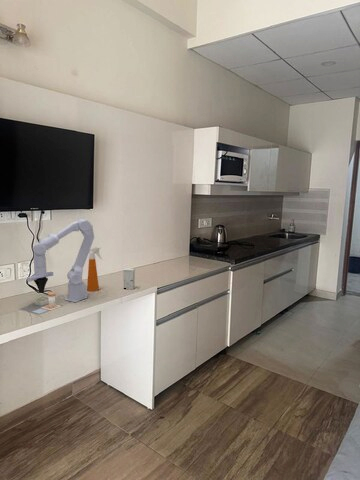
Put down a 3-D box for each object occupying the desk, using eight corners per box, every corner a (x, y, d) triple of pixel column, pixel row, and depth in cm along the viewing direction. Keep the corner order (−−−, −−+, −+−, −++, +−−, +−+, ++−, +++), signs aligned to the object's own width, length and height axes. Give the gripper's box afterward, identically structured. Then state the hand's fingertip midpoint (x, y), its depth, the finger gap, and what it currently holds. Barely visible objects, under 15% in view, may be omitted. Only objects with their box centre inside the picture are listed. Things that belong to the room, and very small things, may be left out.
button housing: (42, 301, 183) (42, 298, 182) (48, 303, 180) (48, 299, 180) (35, 304, 179) (35, 300, 178) (41, 305, 176) (41, 302, 176)
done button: (42, 300, 181) (42, 297, 181) (46, 301, 180) (46, 297, 180) (37, 301, 179) (37, 298, 178) (41, 302, 177) (41, 299, 177)
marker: (52, 305, 177) (52, 291, 176) (57, 306, 175) (56, 292, 174) (46, 307, 174) (46, 292, 173) (51, 308, 172) (51, 293, 171)
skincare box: (123, 289, 207) (122, 269, 205) (125, 287, 212) (125, 267, 210) (133, 289, 206) (132, 269, 205) (135, 287, 211) (135, 268, 209)
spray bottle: (100, 292, 200) (99, 247, 196) (84, 290, 203) (83, 246, 200) (106, 289, 206) (105, 246, 203) (91, 287, 210) (90, 245, 206)
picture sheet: (43, 302, 184) (43, 301, 184) (63, 307, 177) (63, 305, 177) (18, 311, 171) (18, 309, 171) (39, 316, 164) (39, 314, 164)
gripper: (46, 263, 185) (47, 287, 187) (22, 268, 172) (24, 294, 174) (55, 264, 181) (56, 289, 183) (32, 269, 169) (33, 296, 171)
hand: (41, 292), depth 179 cm, fingers closed
